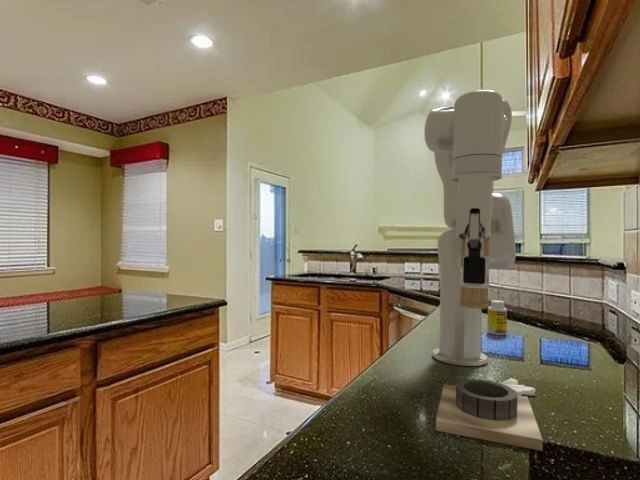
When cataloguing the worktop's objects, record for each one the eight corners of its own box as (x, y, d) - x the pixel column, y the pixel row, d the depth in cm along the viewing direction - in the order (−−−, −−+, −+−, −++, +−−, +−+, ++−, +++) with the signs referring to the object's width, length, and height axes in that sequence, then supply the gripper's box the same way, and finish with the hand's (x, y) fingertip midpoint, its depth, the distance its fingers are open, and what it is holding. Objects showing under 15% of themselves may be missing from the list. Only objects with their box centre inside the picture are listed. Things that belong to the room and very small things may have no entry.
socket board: (443, 392, 73) (444, 368, 73) (527, 405, 67) (527, 379, 67) (435, 430, 58) (436, 400, 58) (542, 451, 52) (543, 417, 53)
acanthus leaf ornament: (513, 385, 79) (513, 375, 79) (540, 398, 72) (540, 388, 72) (482, 387, 77) (482, 378, 77) (507, 401, 70) (507, 391, 70)
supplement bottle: (496, 336, 118) (497, 302, 118) (483, 331, 124) (483, 300, 124) (510, 334, 120) (511, 302, 120) (497, 330, 125) (497, 299, 126)
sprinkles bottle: (466, 303, 66) (467, 225, 66) (493, 307, 63) (495, 225, 63) (454, 306, 63) (455, 224, 63) (482, 310, 60) (483, 224, 60)
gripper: (456, 179, 72) (454, 276, 72) (447, 162, 57) (445, 285, 57) (500, 177, 69) (498, 278, 69) (503, 158, 54) (501, 289, 54)
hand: (474, 280), depth 63 cm, fingers closed on sprinkles bottle, 4 cm apart
